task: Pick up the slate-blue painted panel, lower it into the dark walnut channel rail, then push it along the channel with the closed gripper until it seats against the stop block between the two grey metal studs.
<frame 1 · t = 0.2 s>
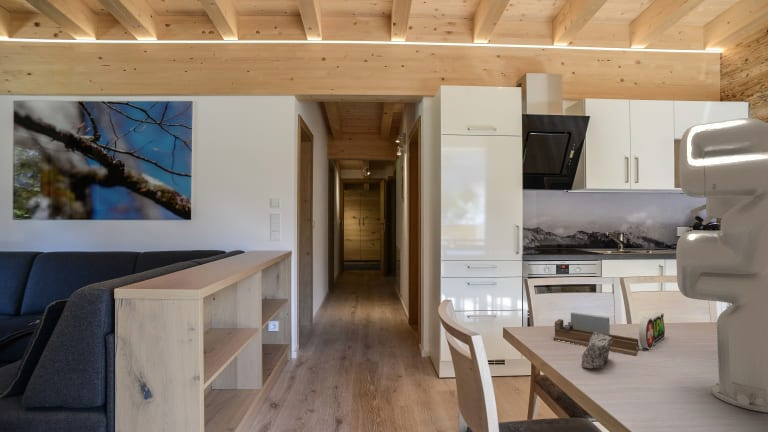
hand: (730, 238, 102), 37 cm above the table, tool pointing down, fingers open, 9 cm apart
sign: (652, 344, 122), on the table
panel: (590, 337, 130), on the table
rail: (594, 344, 122), on the table
rock: (595, 365, 104), on the table
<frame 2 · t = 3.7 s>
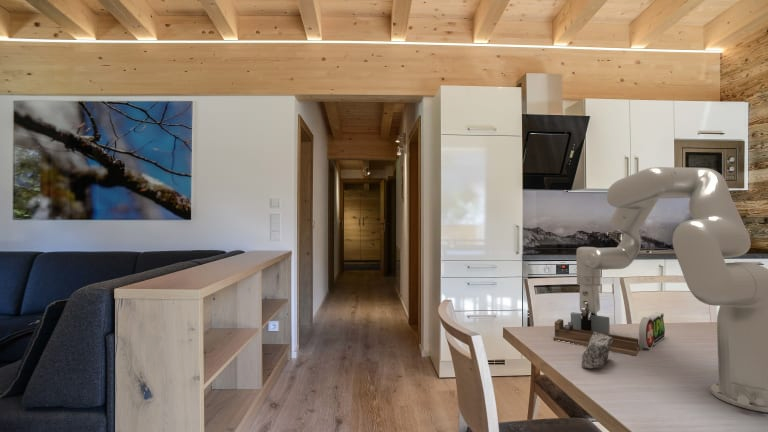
hand: (589, 327, 130), 3 cm above the table, tool pointing down, fingers open, 9 cm apart
nothing on the table moved.
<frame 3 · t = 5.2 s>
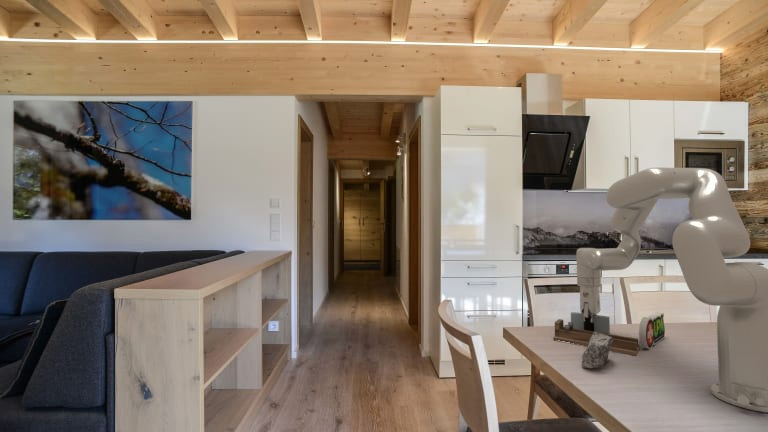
hand: (590, 332, 130), 2 cm above the table, tool pointing down, fingers closed on panel, 2 cm apart
panel: (590, 336, 130), on the table, touching gripper
everything else where it was.
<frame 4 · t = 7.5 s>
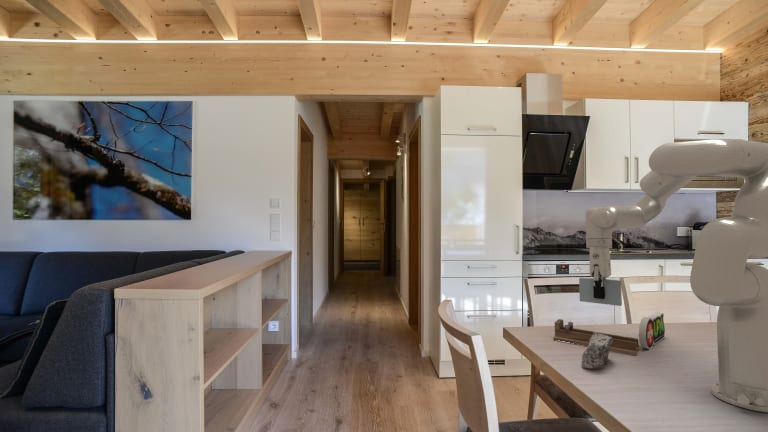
hand: (600, 297, 121), 16 cm above the table, tool pointing down, fingers closed on panel, 2 cm apart
panel: (600, 302, 121), point 14 cm above the table, touching gripper
everything else where it was.
when the fingers open (4 cm above the table, at t = 10.1 s): panel drops 1 cm, resting on rail.
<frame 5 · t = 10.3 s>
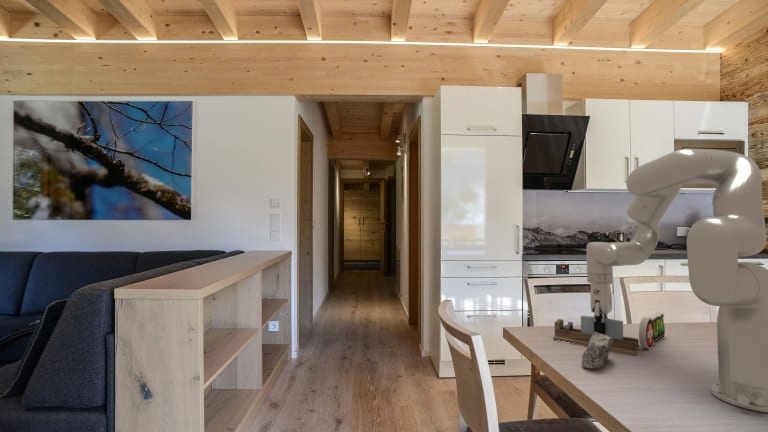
hand: (601, 331, 121), 5 cm above the table, tool pointing down, fingers open, 4 cm apart
panel: (601, 342, 120), point 1 cm above the table, touching rail
everything else where it was.
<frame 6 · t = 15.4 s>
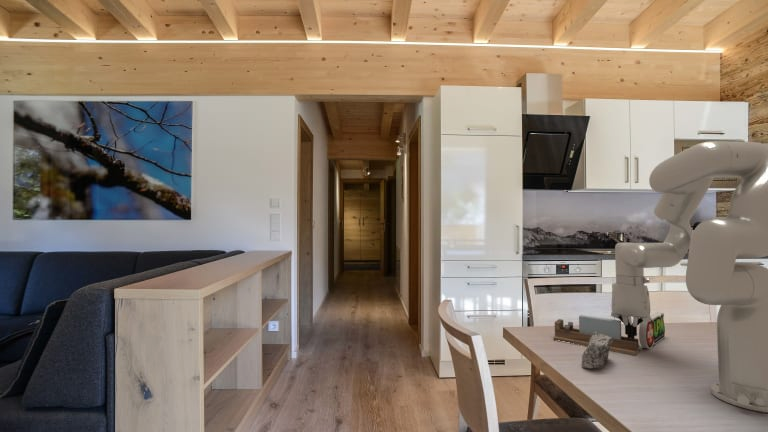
hand: (631, 337, 115), 4 cm above the table, tool pointing down, fingers closed
panel: (599, 342, 121), point 1 cm above the table, touching gripper, rail
everything else where it was.
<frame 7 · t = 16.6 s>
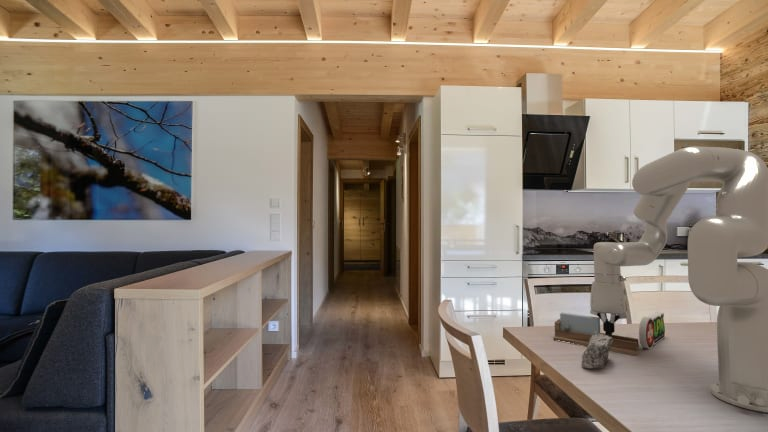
hand: (609, 333, 119), 4 cm above the table, tool pointing down, fingers closed
panel: (580, 338, 125), point 1 cm above the table, touching gripper, rail
everything else where it was.
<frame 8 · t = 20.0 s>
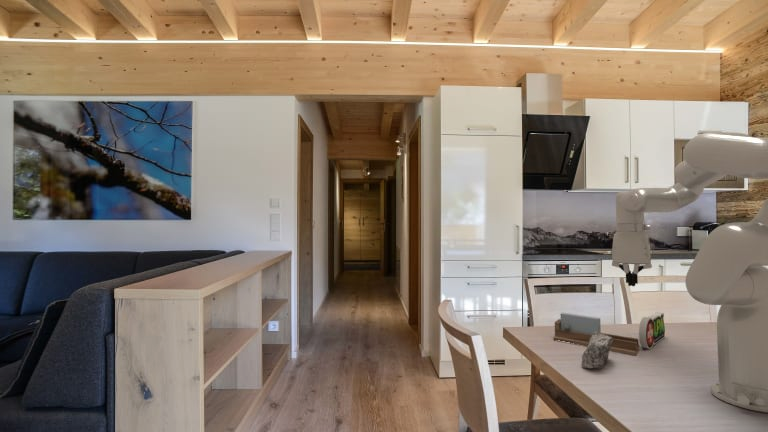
hand: (631, 285, 115), 21 cm above the table, tool pointing down, fingers closed
panel: (580, 338, 125), point 1 cm above the table, touching rail
everything else where it was.
at the end: panel 0.2 cm from the target spot on the rail, point 1.0 cm above the rail's base; panel tilted 0°; panel touching rail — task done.
